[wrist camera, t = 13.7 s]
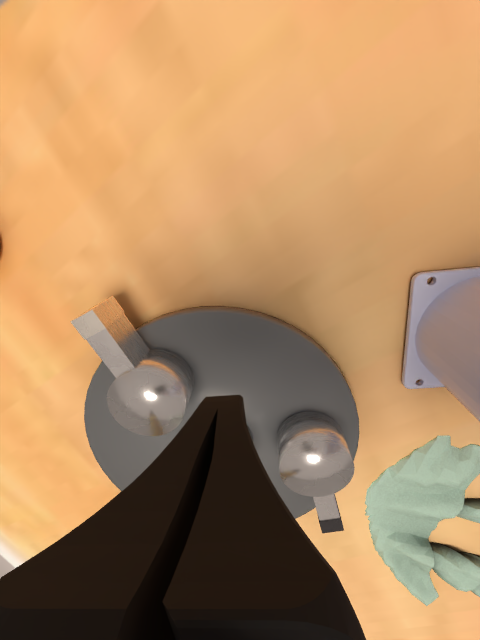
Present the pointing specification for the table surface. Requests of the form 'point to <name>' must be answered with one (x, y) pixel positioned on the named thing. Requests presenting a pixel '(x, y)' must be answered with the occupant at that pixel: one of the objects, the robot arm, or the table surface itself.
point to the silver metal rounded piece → (137, 372)
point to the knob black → (315, 462)
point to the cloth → (425, 516)
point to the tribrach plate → (229, 388)
